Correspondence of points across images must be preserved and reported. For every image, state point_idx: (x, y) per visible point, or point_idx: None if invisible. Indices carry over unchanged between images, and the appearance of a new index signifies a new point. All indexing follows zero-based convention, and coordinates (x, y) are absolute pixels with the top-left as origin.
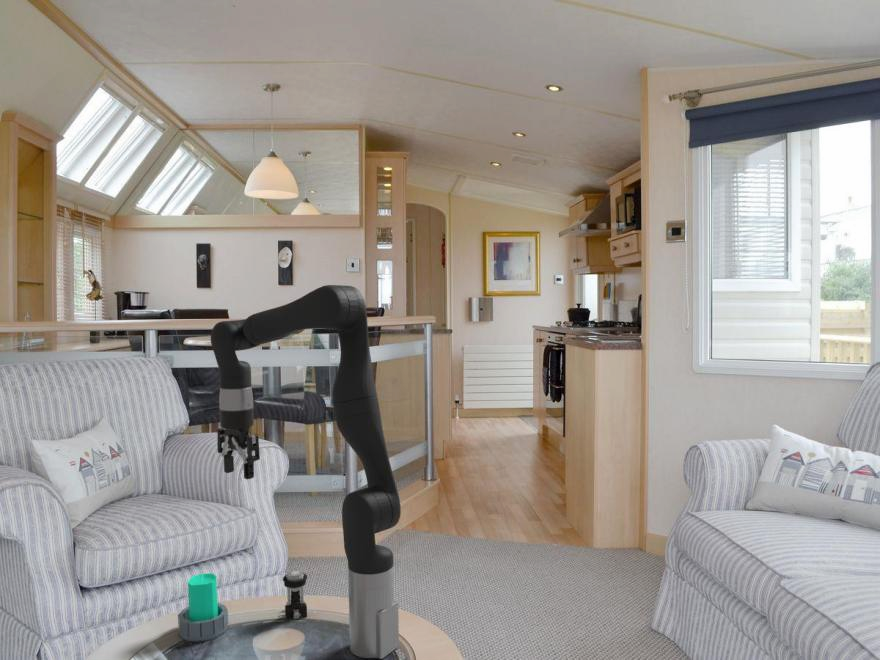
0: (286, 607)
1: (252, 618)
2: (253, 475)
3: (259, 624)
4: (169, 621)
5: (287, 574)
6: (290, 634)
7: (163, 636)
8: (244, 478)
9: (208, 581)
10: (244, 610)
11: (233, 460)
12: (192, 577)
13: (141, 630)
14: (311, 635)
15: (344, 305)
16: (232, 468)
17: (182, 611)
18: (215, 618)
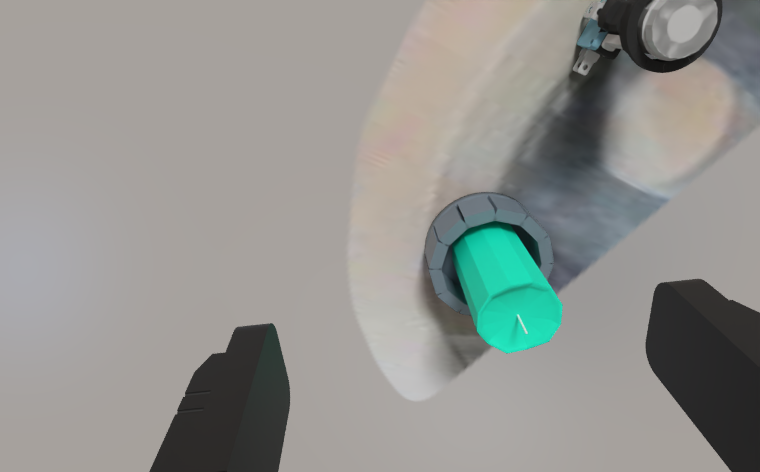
0: (611, 54)
1: (514, 125)
2: (740, 306)
3: (559, 127)
4: (376, 283)
5: (671, 56)
6: (675, 91)
7: (440, 314)
8: (649, 359)
9: (535, 303)
10: (452, 119)
11: (244, 417)
12: (482, 333)
13: (378, 337)
14: (729, 48)
15: None
16: (269, 355)
17: (446, 298)
18: (547, 256)
